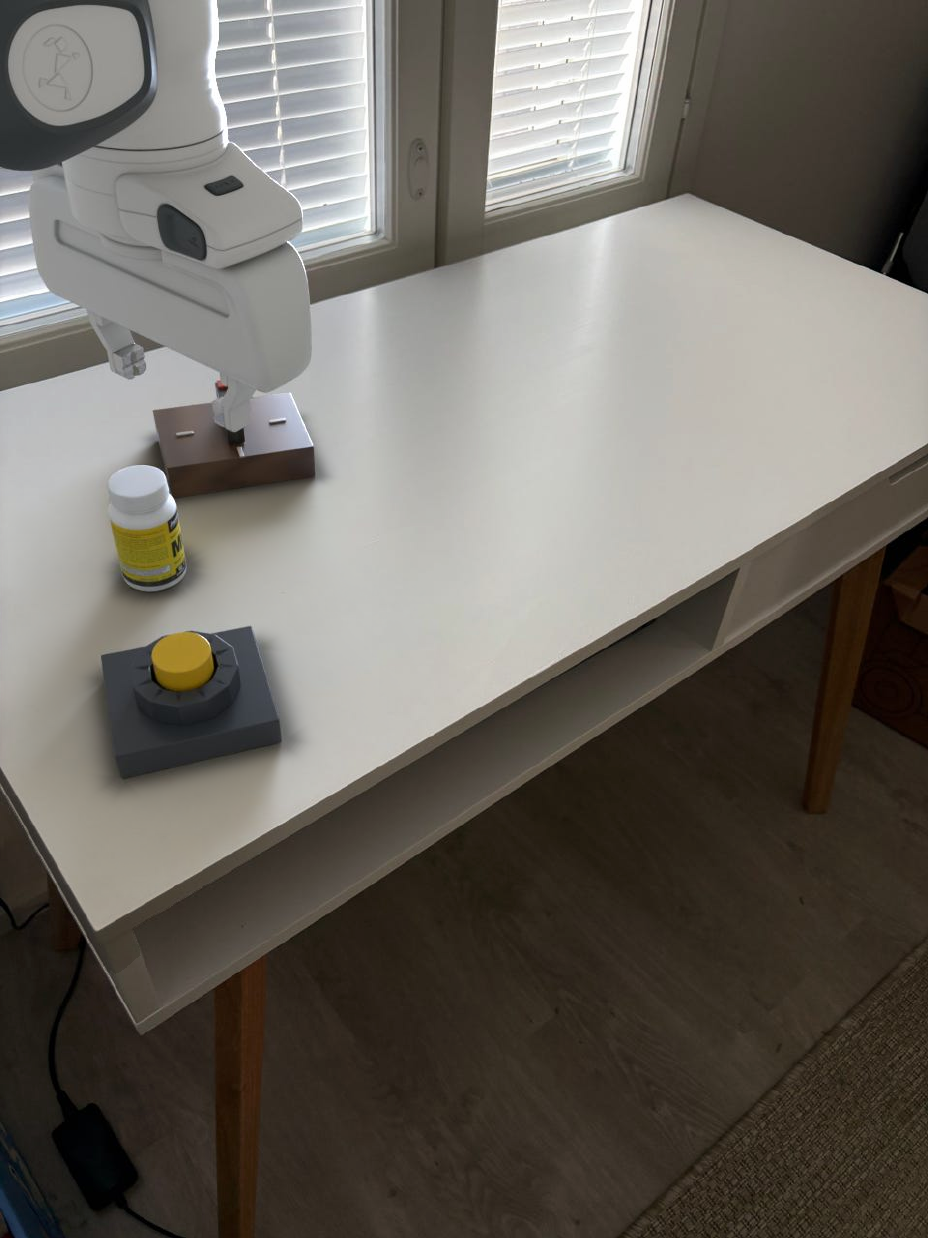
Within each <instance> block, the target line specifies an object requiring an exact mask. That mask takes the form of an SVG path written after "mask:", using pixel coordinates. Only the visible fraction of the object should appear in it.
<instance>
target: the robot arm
mask: <svg viewBox="0 0 928 1238" xmlns="http://www.w3.org/2000/svg"><path fill="white" fill-rule="evenodd" d="M217 5H218V4H217V0H0V169H4V170H10V171H14V172H15V171H16V172H31V177H32V181H33V182H32V183H31V185H30V187H29V189H28V215H29V224H30V231H31V232H30V233H31V240H32V247H33V253H34V259H35V264H36V265H35V266H36V269H37V272H38V275H39V276H40V278H41V280H42V282H43V284H44V285H45V286H46V288H47V290H48V291H49V292H50V293H52V294H53V295H55V296H57V297H60V298H61V299H64V300H65V301H68V302H70V303H72V304H74V305H76V306H79V307H80V308H83V309H85V310H86V313H87V318H88V322H89V324H90V326H91V327H92V329H93V330H94V332H95V334H96V336H97V337H98V339H99V341H100V342H101V344H102V346H103V348H104V349H105V350H106V352H107V358H108V363H109V369H110V371H111V372H112V373H114V374H116V375H118V376H120V377H122V378H125V379H126V380H133V379H135V378H136V377H138V376H141V375H143V374H144V373H145V372H146V370H147V363H146V361H145V358H146V356H145V350H144V347H143V346H142V345H140V344H137V343H136V342H135V340H134V337H133V335H132V332H134V333H136V334H138V335H139V336H142V337H144V338H146V339H149V340H151V341H152V342H154V343H156V344H159V345H160V346H164V347H165V348H167V349H170V350H171V351H173V352H175V353H178V354H180V355H182V356H184V357H186V358H188V359H191V360H192V361H195V362H197V363H199V364H201V365H203V366H205V367H207V368H210V369H212V370H214V371H216V372H218V373H219V377H220V379H219V380H221V383H222V385H224V386H228V390H227V392H226V394H225V395H224V397H219V398H217V397H216V399H214V400H212V401H211V403H212V407H213V412H214V414H215V416H214V421H215V423H217V424H218V425H220V426H222V427H224V428H226V429H228V430H230V431H232V432H237V431H238V430H240V429H242V428H244V427H245V426H247V425H248V424H249V422H250V420H251V413H250V399H251V398H252V397H254V394H255V392H256V391H258V392H261V393H265V394H267V393H271V392H273V391H275V390H277V389H279V388H281V387H282V386H285V385H286V384H289V382H291V381H293V380H295V379H296V378H298V377H299V376H301V374H303V372H304V371H305V370H306V369H307V368H308V367H309V365H310V363H311V361H312V355H313V328H312V327H313V325H312V311H311V309H312V308H311V299H310V298H311V297H310V291H309V290H310V288H309V281H308V275H307V272H306V268H305V265H304V262H303V260H302V258H301V255H300V254H299V253H298V251H297V250H296V248H295V247H294V245H292V244H291V243H290V241H292V240H294V239H295V238H297V237H299V236H300V235H301V234H302V232H303V229H304V228H303V227H304V215H303V214H304V213H303V208H302V206H301V203H300V201H299V200H298V199H297V198H296V197H295V196H294V194H292V193H291V192H290V191H288V190H287V189H286V188H285V187H284V186H282V185H281V184H279V183H278V182H277V181H276V180H275V179H273V178H272V177H271V176H270V175H268V174H267V173H266V172H265V171H264V170H262V169H261V168H260V166H258V165H257V164H256V163H255V162H254V161H253V160H252V159H251V158H250V157H248V155H246V154H245V152H244V151H243V150H242V149H241V148H240V147H239V146H238V145H237V144H236V143H234V142H233V141H231V140H229V138H228V137H229V135H228V126H227V115H226V110H225V107H224V103H223V101H222V99H221V96H220V93H219V90H218V86H217V81H216V72H215V63H216V62H215V59H216V52H217V47H218V42H219V34H220V33H219V17H218V6H217ZM131 331H132V332H131Z"/></svg>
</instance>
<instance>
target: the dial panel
mask: <svg viewBox="0 0 928 1238" xmlns="http://www.w3.org/2000/svg"><path fill="white" fill-rule="evenodd" d="M250 413H251V420H250V422H249V424H248V425H247V426H245V427H244V433H245V442H241V443H233V444H229V443H228V440H227V437H226V434H225V431H224V428H223V427H222V426H220V425H218V424H217V423H215V421H214V416H215V414H214V412H213V407H212V402H205V403H204V402H203V403H198V404H190V405H182V406H174V407H166V408H160V409H153V410H152V416H153V421H154V427H155V432H156V437H157V442H158V446H159V451H160V455H161V459H162V462H163V463H162V464H163V467H164V470H165V471H164V472H165V474H166V475H165V476H166V480H167V484H168V487H169V492H170V495H171V496H172V497H173V499H176V498H184V497H189V496H194V495H195V496H196V495H202V494H209V493H215V492H221V491H227V490H234V489H240V488H241V489H242V488H246V487H254V486H259V485H265V484H273V483H278V482H284V481H292V480H298V479H305V478H311V477H315V476H316V461H315V446H314V443H313V440H312V439H311V437H310V434H309V432H308V430H307V428H306V425H305V422H304V421H303V418H302V416H301V413H300V411H299V409H298V407H297V404H296V402H295V400H294V398H293V396H292V393H291V392H288V391H287V392H282V393H273V394H266V395H258V396H252V398H251V399H250Z"/></svg>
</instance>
